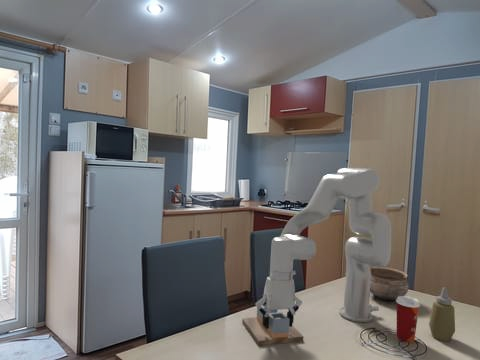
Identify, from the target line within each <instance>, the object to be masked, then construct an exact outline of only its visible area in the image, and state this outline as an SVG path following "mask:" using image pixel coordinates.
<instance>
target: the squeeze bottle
mask: <svg viewBox="0 0 480 360" xmlns="http://www.w3.org/2000/svg"><path fill="white" fill-rule="evenodd" d="M455 315H456V314H455V307H454V306H453V303H452V298H451V297H449V293H448V288H447V287H442V289H441V293H440V295H437V296H436V300H435V301H434V302H433V303H432V308H431V312H430V319H429V322H428V326H429V329H430V332H431V333H430V334H431V335H432V337H433V338H435V339H436V340H439V341H442V342H443V341H444V342H450V341H451V340H452V338H453V336H454V334H455V332H456V322H455V321H456V318H455V317H456V316H455Z"/></svg>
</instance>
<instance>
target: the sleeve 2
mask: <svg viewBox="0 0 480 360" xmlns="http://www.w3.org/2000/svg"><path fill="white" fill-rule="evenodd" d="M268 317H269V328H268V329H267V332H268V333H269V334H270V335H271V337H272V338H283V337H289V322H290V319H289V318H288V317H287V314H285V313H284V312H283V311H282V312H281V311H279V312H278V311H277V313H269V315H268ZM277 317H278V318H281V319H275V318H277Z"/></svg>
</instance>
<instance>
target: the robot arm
mask: <svg viewBox="0 0 480 360" xmlns="http://www.w3.org/2000/svg"><path fill="white" fill-rule="evenodd" d="M380 184H381V177H380V174H379V172H378V171H377V170H375V169H373V168H369V167H368V168H365V167H343V168H339V169H338V170H337V172H336V173H328V174H326V175H323V177H322V178H321V180H320V182H319V184H318V185H317V187H316V189H315V190H314V193H313V195H312V197H311V199H310V200H309V202H308V204H307V205H306V206H305V207H304V208H303V209H301V210H300V211H298V212H297V213H296V214H295V215H294V216H292V217H291V218H290V219H289V220H288V221H287V223H286V224H285V225H284V228H283V229H282V232H281V234H280V236H276V237H273V239H272V240H271V248H270V262H269V263H270V265H269V276H267V277H266V280H265V285H264V289H263V295H262V298H260V299H259V300H257V302H255V306H256V309H257V308H258V310H259V311H260V312H261V313H262V314H263V325H264V327H265V328H266V329H268V328H269V317H268V315H269V313H270V312H271V310H277V311H279V310H288V311H287V312H286V316H287V317H288V318H289V319H290V322H289V326H290V327H292V325H293V324H294V318H295V315H296V313H297V312H298V310H299V308H300V306H301V305H302V304H303V301H302V300H301V299H299V298H298V297H297V296H296V289H295V288H296V287H295V281H294V278H293V277H294V276H295V275H296V274H297V272H296V271H297V270H294V269H293V268H294V267H293V266H294V260H301V261H306V260H307V261H308V260H310V259H312V258H313V257H315V256H316V253H317V245H316V242H315V241H314V240H313V239H311V238H308V237H306V236H302V235H300V234H301V233H302V232H303V230H304V229H306V228H307V227H309V226H312V225H313V224H317V223H320V222H323V221H326V220H327V219H329V218H330V216H331V213H332V212H333V210H334V208H335V206H336V204H337V202H338V200H339V199H347V200H348V203H349V204H348V205H349V209H348V210H349V212H348V213H349V215H348V216H349V217H348V221H349V230H350V231H351V232H353V233H354V234H357V235H361V236H365V237H361V236H352V237H349V239H347V240H346V242H345V245H344V254H345V262H346V263H345V264H346V267H345V281H344V282H345V283H344V284H345V285H344V295H343V297H344V300H343V306H342V307H341V308H340V309H339V311H338V312H339V313H338V314H339V315H340V316H341V317H342V318H344V319H346V320H348V321H352V322H355V323H368V322H369V323H370V322H371V321H372V320H373V314H372V313H373V312H379V310H380V308H379V305H373V306H372V304H370V296H371V292H370V284H371V271H370V267H386V266H388V264H389V263H390V260H391V255H392V224H391V220H390V218H389V217H388V216H387V215H386V214H384V213H379V212H374V211H373V198H372V194H371V193H374V191H376V190H378V187H379V186H380ZM367 237H369V238H367ZM370 238H371V239H370ZM262 304H264V305H266V306H265V307H264V309H262V307H261V305H262Z"/></svg>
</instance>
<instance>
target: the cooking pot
mask: <svg viewBox="0 0 480 360" xmlns="http://www.w3.org/2000/svg"><path fill="white" fill-rule="evenodd" d="M369 267H370V271H371V284H370V294H372V295H373V296H375V297H377V298H378V299H380V300H382V301H387V302H391V301H393V300H396V299H397V298H398V296H406V294H407V293H408V292H409V288H410V287H409V281H408V279H407V277H408V276H409V275H408V274H407V273H406V272H404V271H401V270H398V269H395V268H390V267H386V266H385V267H375V266H369Z"/></svg>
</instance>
